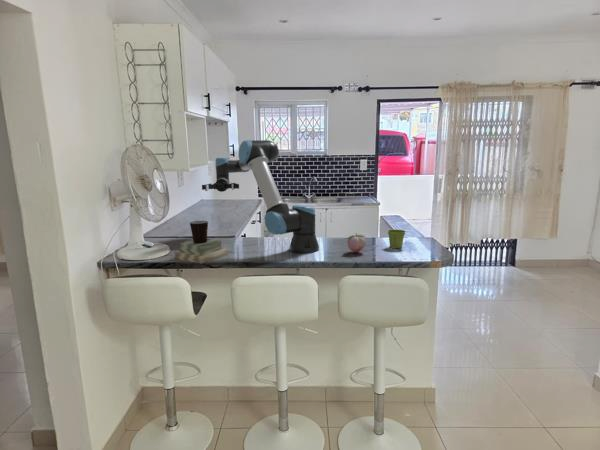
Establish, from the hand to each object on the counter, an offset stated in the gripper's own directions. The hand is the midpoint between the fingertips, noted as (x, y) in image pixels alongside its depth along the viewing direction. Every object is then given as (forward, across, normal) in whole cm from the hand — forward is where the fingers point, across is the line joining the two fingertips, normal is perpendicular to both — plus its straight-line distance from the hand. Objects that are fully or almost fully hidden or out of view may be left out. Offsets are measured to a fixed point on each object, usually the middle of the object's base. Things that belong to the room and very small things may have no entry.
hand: (219, 188), depth 209 cm
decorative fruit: (+28, -67, -32) cm, 80 cm away
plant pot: (+22, -91, -32) cm, 99 cm away
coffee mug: (+22, +10, -25) cm, 34 cm away
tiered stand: (+20, +9, -32) cm, 39 cm away
